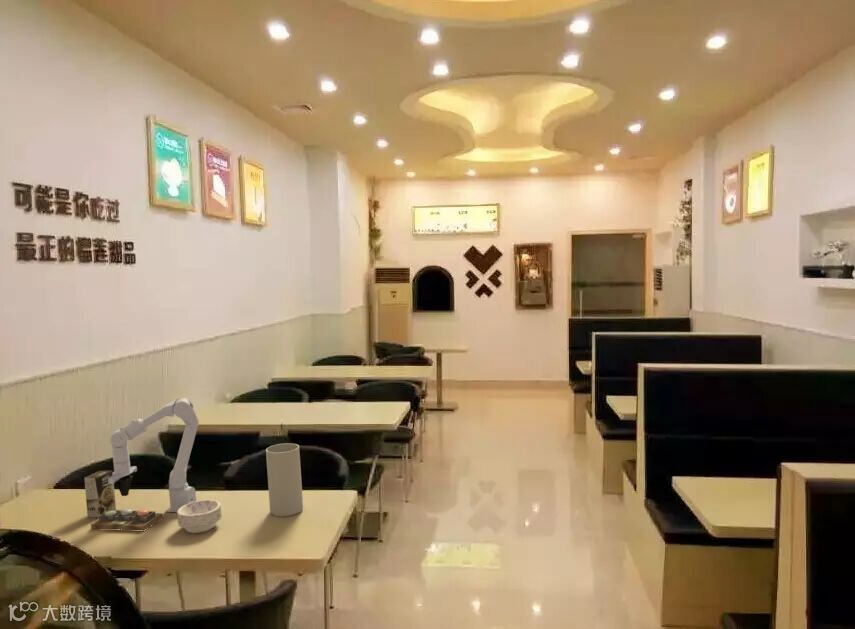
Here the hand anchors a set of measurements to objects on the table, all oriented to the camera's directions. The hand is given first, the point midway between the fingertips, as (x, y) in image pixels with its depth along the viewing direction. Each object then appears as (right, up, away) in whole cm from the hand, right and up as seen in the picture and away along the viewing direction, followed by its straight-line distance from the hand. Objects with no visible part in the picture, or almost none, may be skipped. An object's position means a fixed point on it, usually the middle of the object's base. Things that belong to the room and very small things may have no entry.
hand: (124, 495), depth 252 cm
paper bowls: (+34, -9, -13) cm, 37 cm away
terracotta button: (+11, -5, -8) cm, 14 cm away
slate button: (+4, -6, -6) cm, 9 cm away
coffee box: (-12, -9, +6) cm, 16 cm away
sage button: (-3, -7, -5) cm, 9 cm away
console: (+4, -9, -6) cm, 12 cm away
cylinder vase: (+63, -6, -1) cm, 63 cm away
